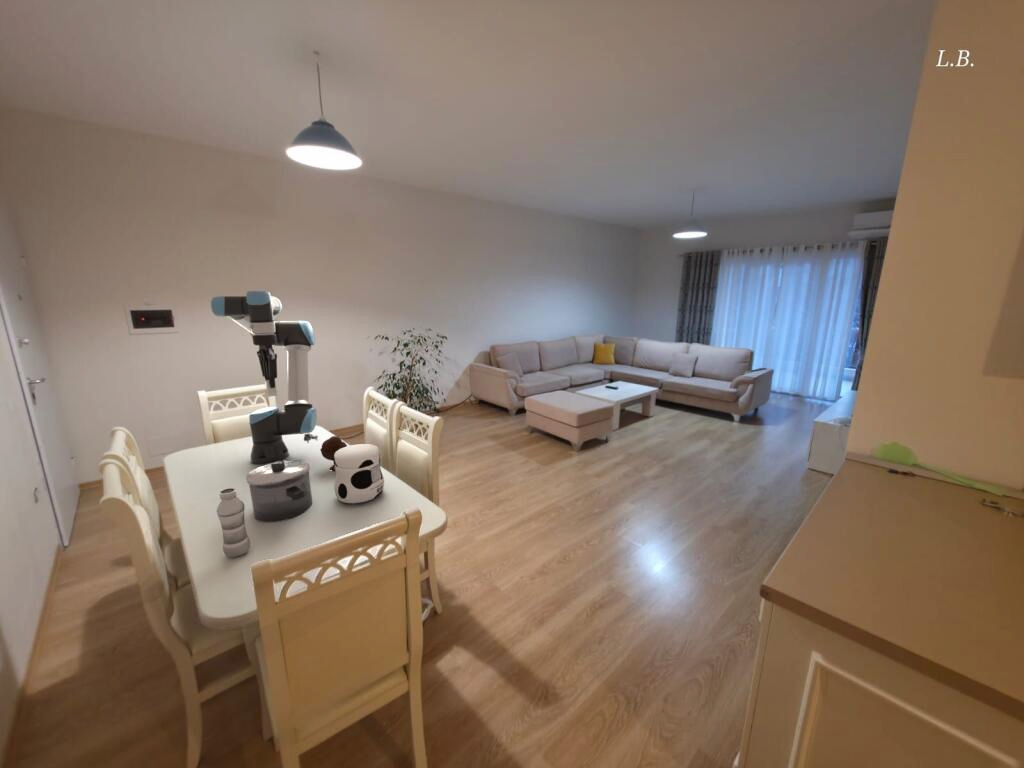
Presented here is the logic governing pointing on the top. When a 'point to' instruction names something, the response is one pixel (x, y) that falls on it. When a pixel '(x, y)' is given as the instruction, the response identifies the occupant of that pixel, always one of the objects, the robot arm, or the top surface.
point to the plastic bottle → (232, 524)
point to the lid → (277, 472)
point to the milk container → (358, 474)
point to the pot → (281, 499)
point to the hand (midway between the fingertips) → (272, 395)
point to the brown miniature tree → (332, 448)
